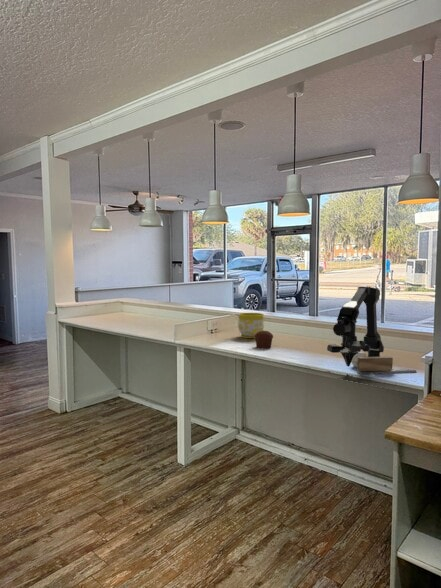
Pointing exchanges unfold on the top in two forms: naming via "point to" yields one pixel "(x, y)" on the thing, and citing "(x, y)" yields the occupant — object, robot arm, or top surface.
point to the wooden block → (375, 363)
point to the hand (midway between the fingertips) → (348, 366)
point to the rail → (388, 371)
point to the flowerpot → (250, 324)
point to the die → (355, 358)
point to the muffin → (263, 339)
